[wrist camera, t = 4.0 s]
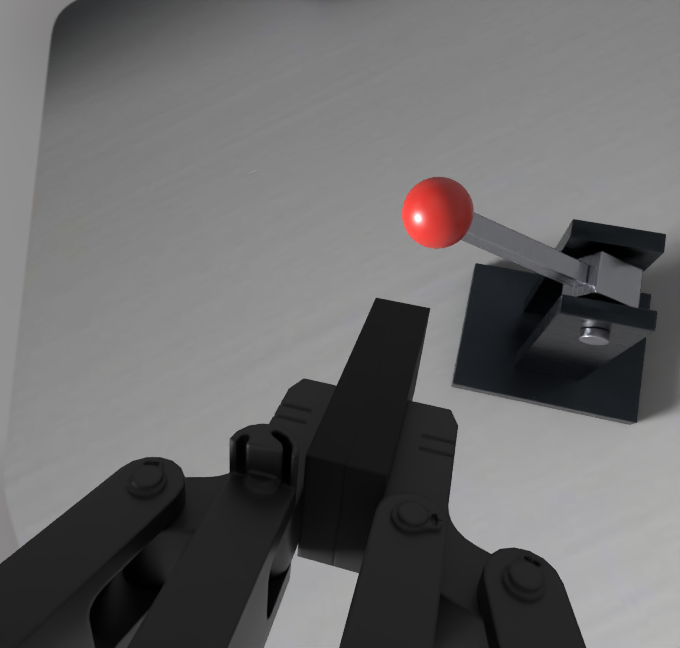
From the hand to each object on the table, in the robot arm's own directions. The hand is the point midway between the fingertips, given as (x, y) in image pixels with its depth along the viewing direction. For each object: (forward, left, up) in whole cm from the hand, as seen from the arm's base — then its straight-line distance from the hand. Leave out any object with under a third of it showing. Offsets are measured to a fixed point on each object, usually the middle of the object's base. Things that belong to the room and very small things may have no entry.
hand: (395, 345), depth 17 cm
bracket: (+9, +9, -26) cm, 28 cm away
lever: (+3, +9, -12) cm, 15 cm away
